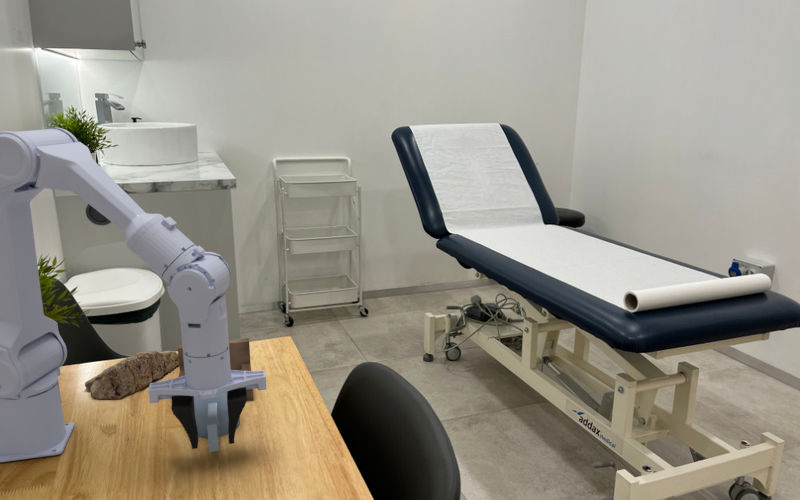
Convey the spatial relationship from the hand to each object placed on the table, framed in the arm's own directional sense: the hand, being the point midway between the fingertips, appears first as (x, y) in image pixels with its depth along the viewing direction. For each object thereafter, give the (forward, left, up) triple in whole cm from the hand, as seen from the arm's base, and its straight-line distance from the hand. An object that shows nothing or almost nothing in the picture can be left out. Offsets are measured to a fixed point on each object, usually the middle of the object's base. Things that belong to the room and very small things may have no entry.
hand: (213, 442), depth 81 cm
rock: (-14, +28, -3) cm, 32 cm away
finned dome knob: (0, +6, -3) cm, 6 cm away
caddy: (0, +20, -2) cm, 20 cm away
